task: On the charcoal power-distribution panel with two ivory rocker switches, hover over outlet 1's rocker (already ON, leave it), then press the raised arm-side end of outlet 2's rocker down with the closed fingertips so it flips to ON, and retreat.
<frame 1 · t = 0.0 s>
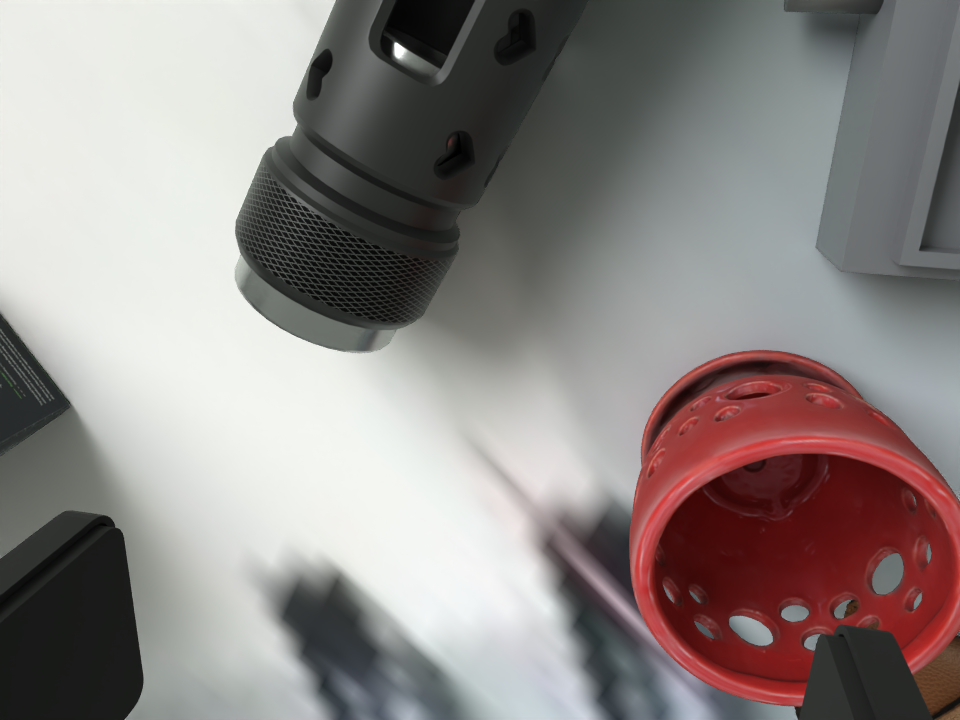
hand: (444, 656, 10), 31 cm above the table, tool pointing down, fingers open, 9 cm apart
muzzle brake: (477, 33, 37), on the table
plant pot: (755, 448, 42), on the table
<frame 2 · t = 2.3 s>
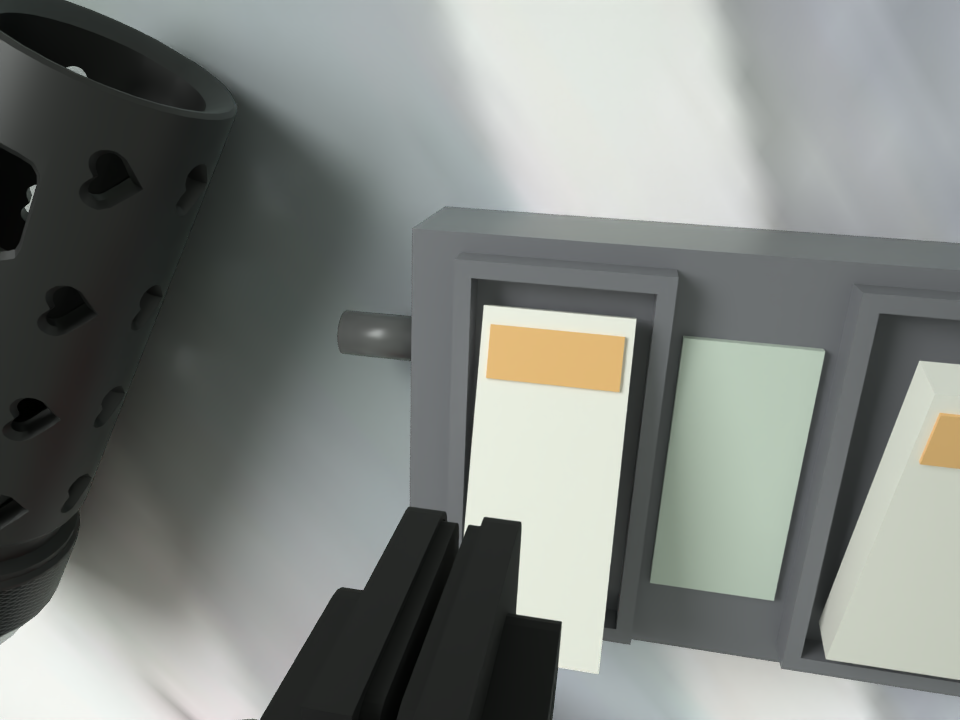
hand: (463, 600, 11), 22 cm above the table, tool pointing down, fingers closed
muzzle brake: (100, 326, 38), on the table
rocker 1: (543, 485, 27), point 8 cm above the table, hinge at -15.0°
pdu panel: (716, 416, 33), on the table
rocker 2: (951, 538, 25), point 8 cm above the table, hinge at 15.0°
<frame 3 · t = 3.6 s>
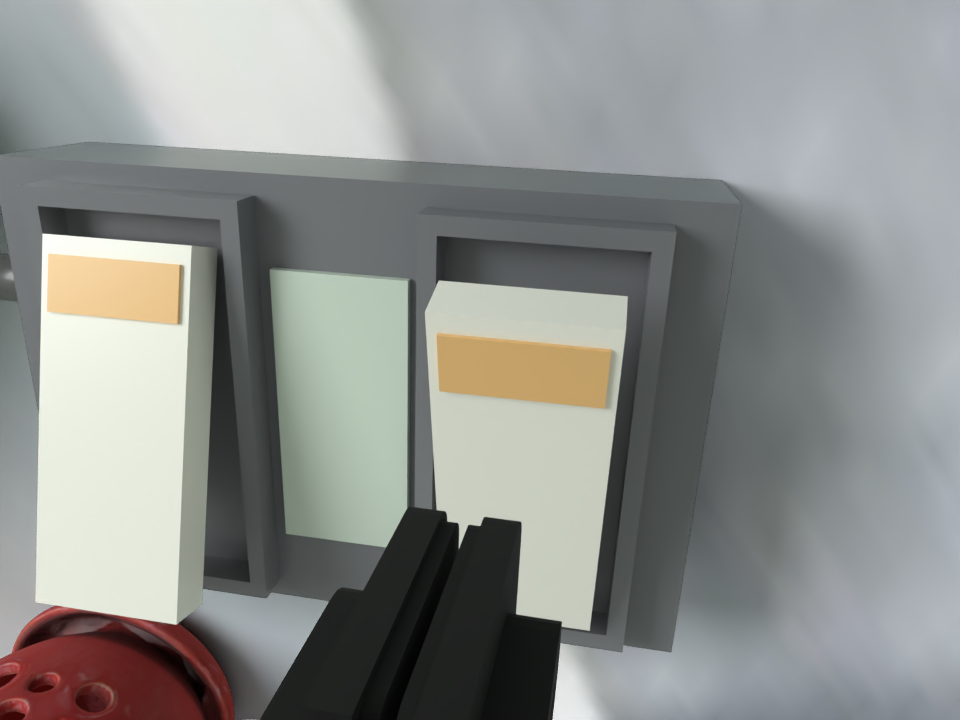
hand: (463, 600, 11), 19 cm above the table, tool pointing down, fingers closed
rocker 1: (124, 427, 25), point 8 cm above the table, hinge at -15.0°
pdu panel: (386, 362, 31), on the table
plant pot: (148, 676, 40), on the table
rocker 2: (522, 475, 23), point 8 cm above the table, hinge at 15.0°
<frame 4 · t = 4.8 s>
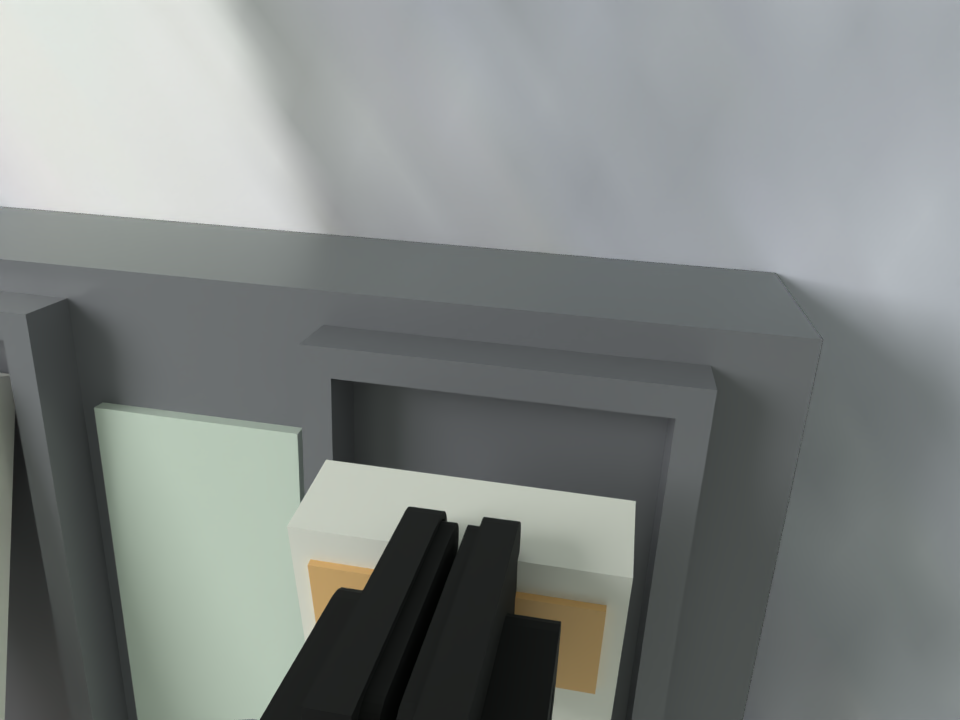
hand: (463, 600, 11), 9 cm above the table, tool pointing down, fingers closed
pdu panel: (302, 501, 23), on the table
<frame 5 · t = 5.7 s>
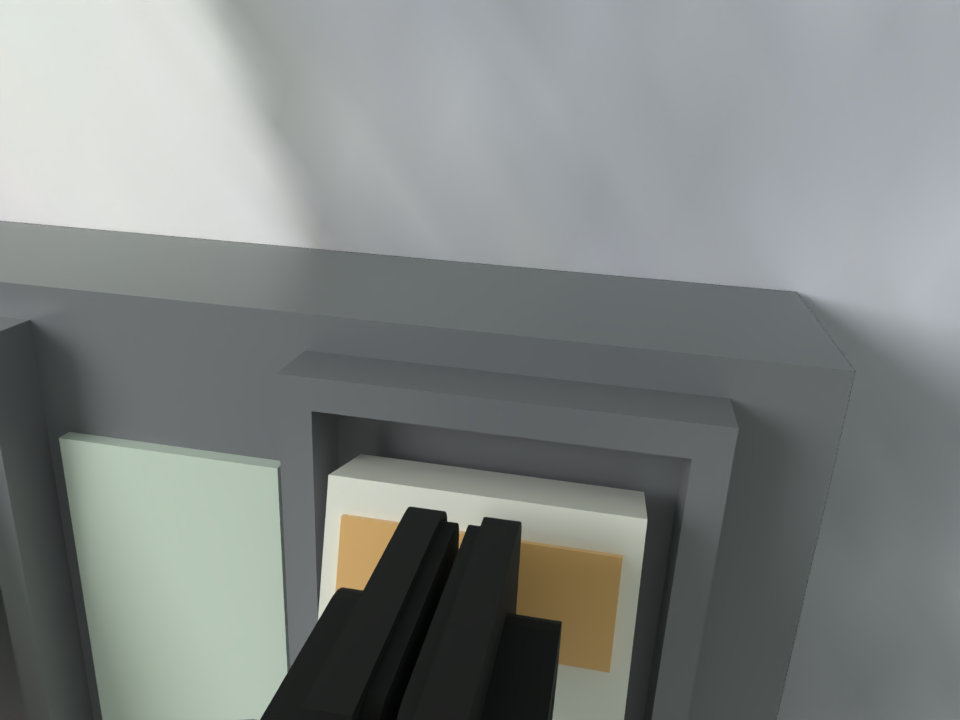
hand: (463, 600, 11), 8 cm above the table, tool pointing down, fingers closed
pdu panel: (290, 530, 22), on the table
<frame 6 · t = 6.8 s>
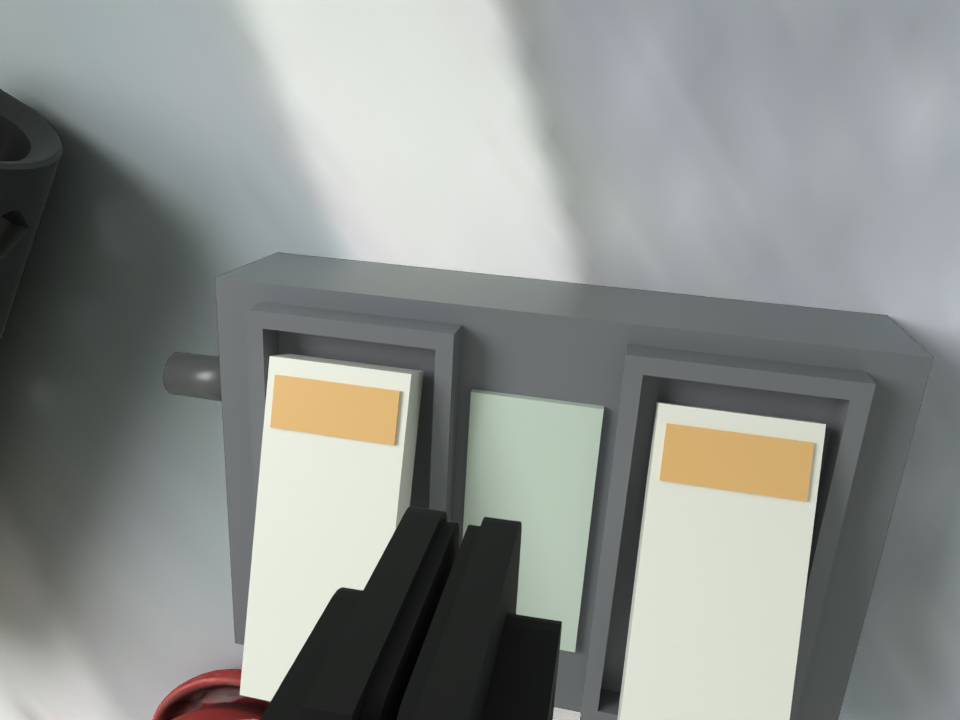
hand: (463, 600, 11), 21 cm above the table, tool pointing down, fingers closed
rocker 1: (330, 533, 27), point 8 cm above the table, hinge at -15.0°
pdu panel: (543, 464, 33), on the table
rocker 2: (714, 598, 25), point 8 cm above the table, hinge at -19.3°, touching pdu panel
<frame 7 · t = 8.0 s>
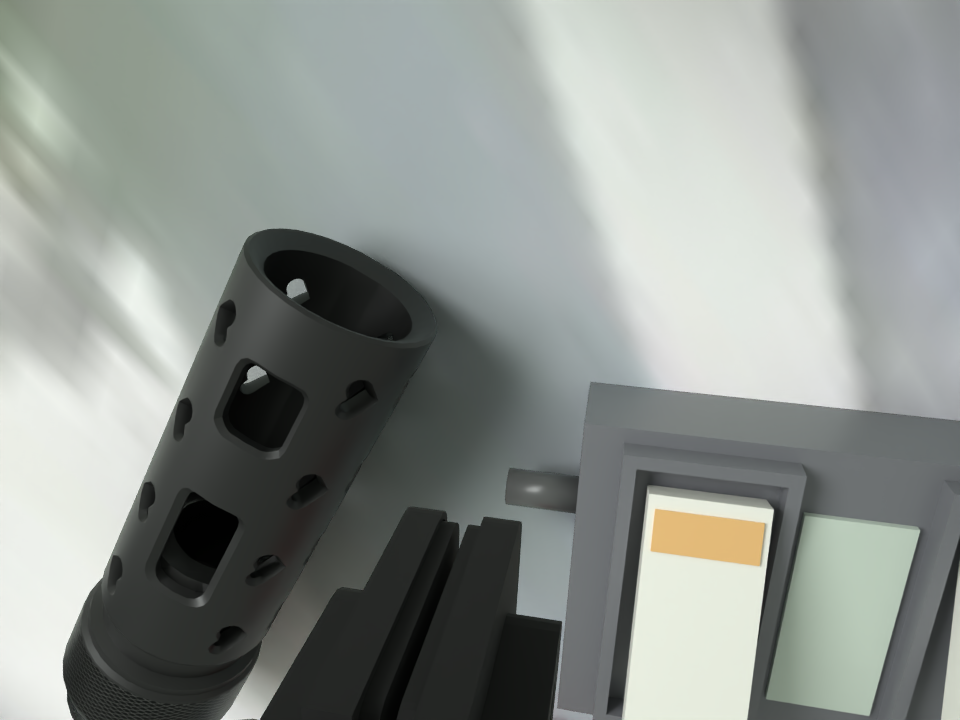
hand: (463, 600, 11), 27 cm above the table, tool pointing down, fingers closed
muzzle brake: (279, 462, 44), on the table
rocker 1: (692, 632, 33), point 8 cm above the table, hinge at -15.0°
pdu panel: (813, 552, 40), on the table
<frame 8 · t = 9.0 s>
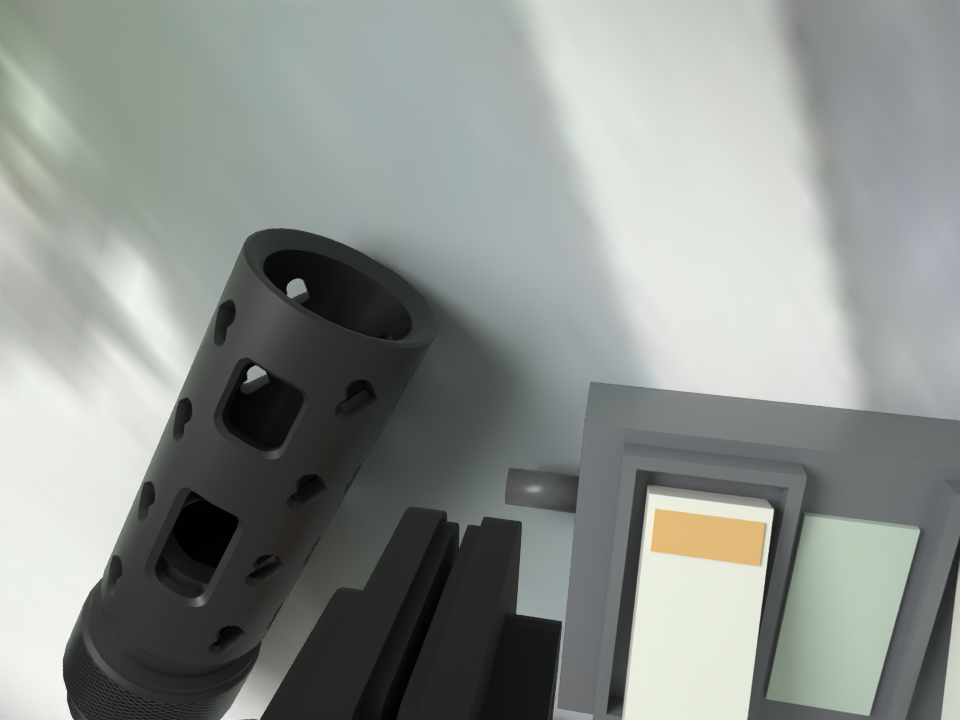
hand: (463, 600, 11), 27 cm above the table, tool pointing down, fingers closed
muzzle brake: (279, 462, 44), on the table
rocker 1: (692, 632, 33), point 8 cm above the table, hinge at -15.0°
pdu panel: (813, 552, 40), on the table
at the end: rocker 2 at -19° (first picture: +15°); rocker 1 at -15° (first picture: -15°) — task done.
